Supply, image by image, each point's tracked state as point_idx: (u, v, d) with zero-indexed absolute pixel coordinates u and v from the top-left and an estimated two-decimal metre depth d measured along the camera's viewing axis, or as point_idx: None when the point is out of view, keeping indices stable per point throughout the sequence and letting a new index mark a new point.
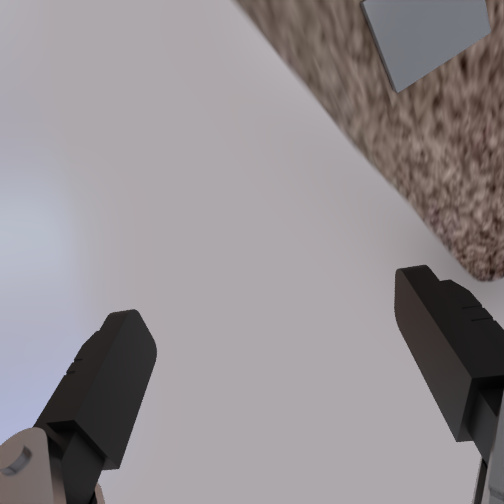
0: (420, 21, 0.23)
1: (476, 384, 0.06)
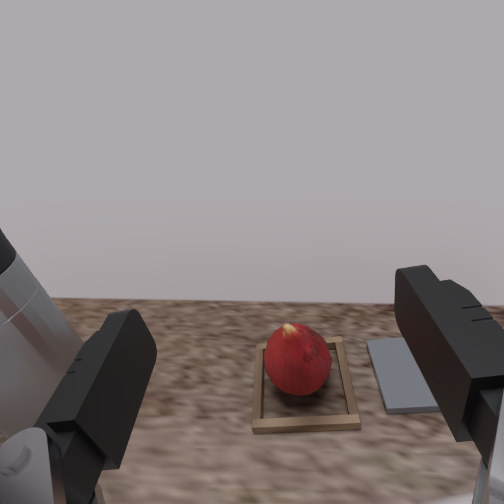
0: (417, 373, 0.27)
1: (476, 384, 0.06)
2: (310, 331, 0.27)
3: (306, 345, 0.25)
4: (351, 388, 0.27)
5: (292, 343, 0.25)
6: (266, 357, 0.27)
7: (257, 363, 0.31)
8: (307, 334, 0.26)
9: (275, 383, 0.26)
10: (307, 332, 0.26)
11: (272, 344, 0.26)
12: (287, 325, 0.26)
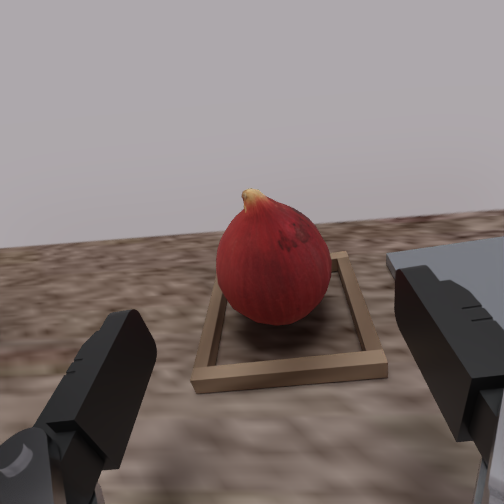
0: (480, 286, 0.16)
1: (476, 384, 0.06)
2: (293, 209, 0.15)
3: (284, 223, 0.14)
4: (367, 313, 0.16)
5: (259, 219, 0.14)
6: (217, 258, 0.15)
7: (214, 292, 0.20)
8: (287, 208, 0.14)
9: (232, 301, 0.15)
10: (289, 207, 0.15)
11: (226, 233, 0.15)
12: (250, 189, 0.14)
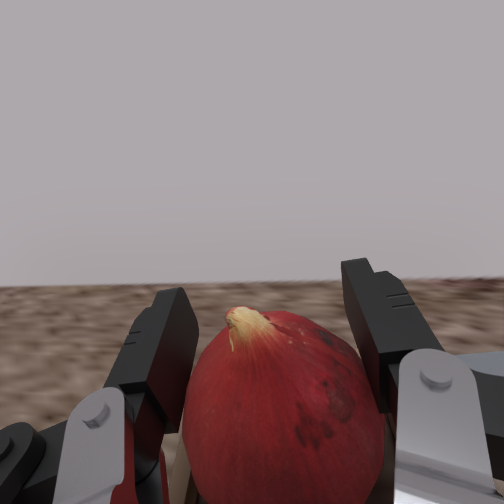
0: None
1: (384, 358, 0.07)
2: (320, 333, 0.08)
3: (308, 383, 0.07)
4: None
5: (259, 375, 0.07)
6: (183, 415, 0.09)
7: None
8: (311, 341, 0.08)
9: (209, 503, 0.08)
10: (313, 335, 0.08)
11: (199, 377, 0.08)
12: (242, 311, 0.07)
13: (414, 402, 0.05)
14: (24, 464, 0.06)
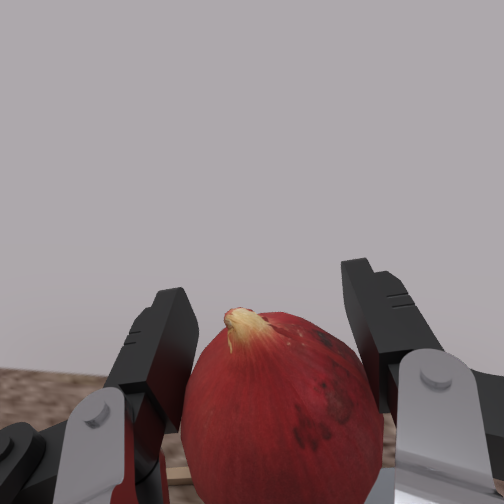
0: None
1: (384, 358, 0.07)
2: (319, 334, 0.08)
3: (306, 385, 0.07)
4: None
5: (257, 377, 0.07)
6: (182, 417, 0.09)
7: None
8: (309, 342, 0.08)
9: None
10: (311, 337, 0.08)
11: (198, 378, 0.08)
12: (240, 313, 0.07)
13: (414, 402, 0.05)
14: (24, 464, 0.06)
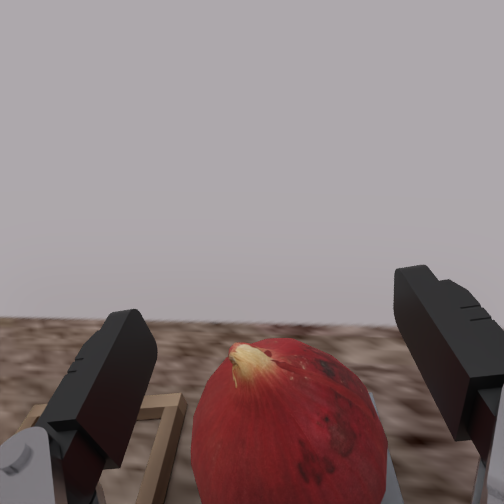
0: None
1: (474, 383, 0.06)
2: (322, 364, 0.09)
3: (309, 419, 0.07)
4: None
5: (262, 413, 0.07)
6: (192, 444, 0.09)
7: None
8: (312, 375, 0.08)
9: None
10: (314, 368, 0.08)
11: (205, 409, 0.09)
12: (244, 350, 0.08)
13: None
14: None
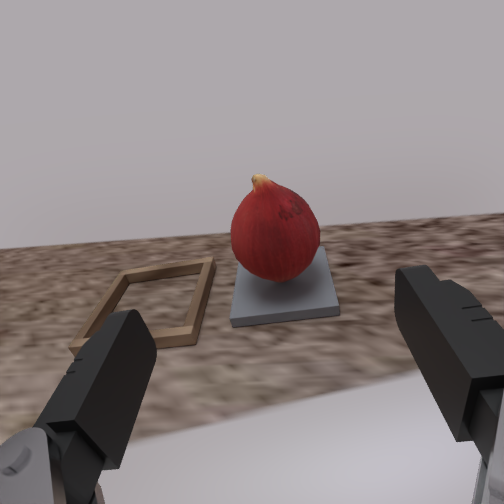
0: (279, 283, 0.22)
1: (476, 384, 0.06)
2: None
3: (284, 199, 0.18)
4: (198, 302, 0.22)
5: (265, 197, 0.18)
6: (232, 227, 0.20)
7: (111, 287, 0.27)
8: (286, 189, 0.19)
9: (243, 260, 0.20)
10: (287, 189, 0.19)
11: (239, 208, 0.20)
12: (258, 174, 0.19)
13: None
14: None
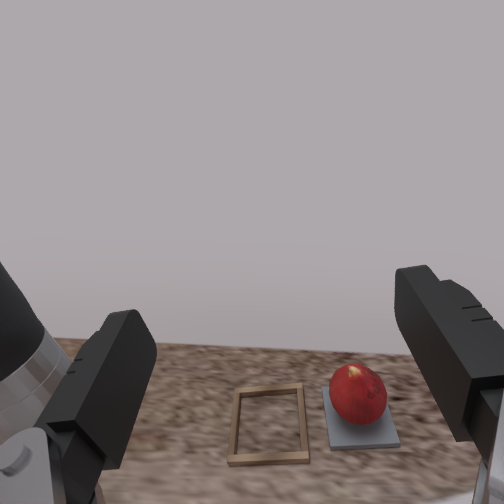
0: None
1: (476, 384, 0.06)
2: (370, 371, 0.32)
3: (369, 384, 0.31)
4: (305, 429, 0.35)
5: (358, 383, 0.31)
6: (333, 393, 0.33)
7: (234, 406, 0.39)
8: (368, 374, 0.32)
9: (341, 415, 0.32)
10: (368, 372, 0.32)
11: (339, 383, 0.32)
12: (353, 368, 0.31)
13: None
14: None
